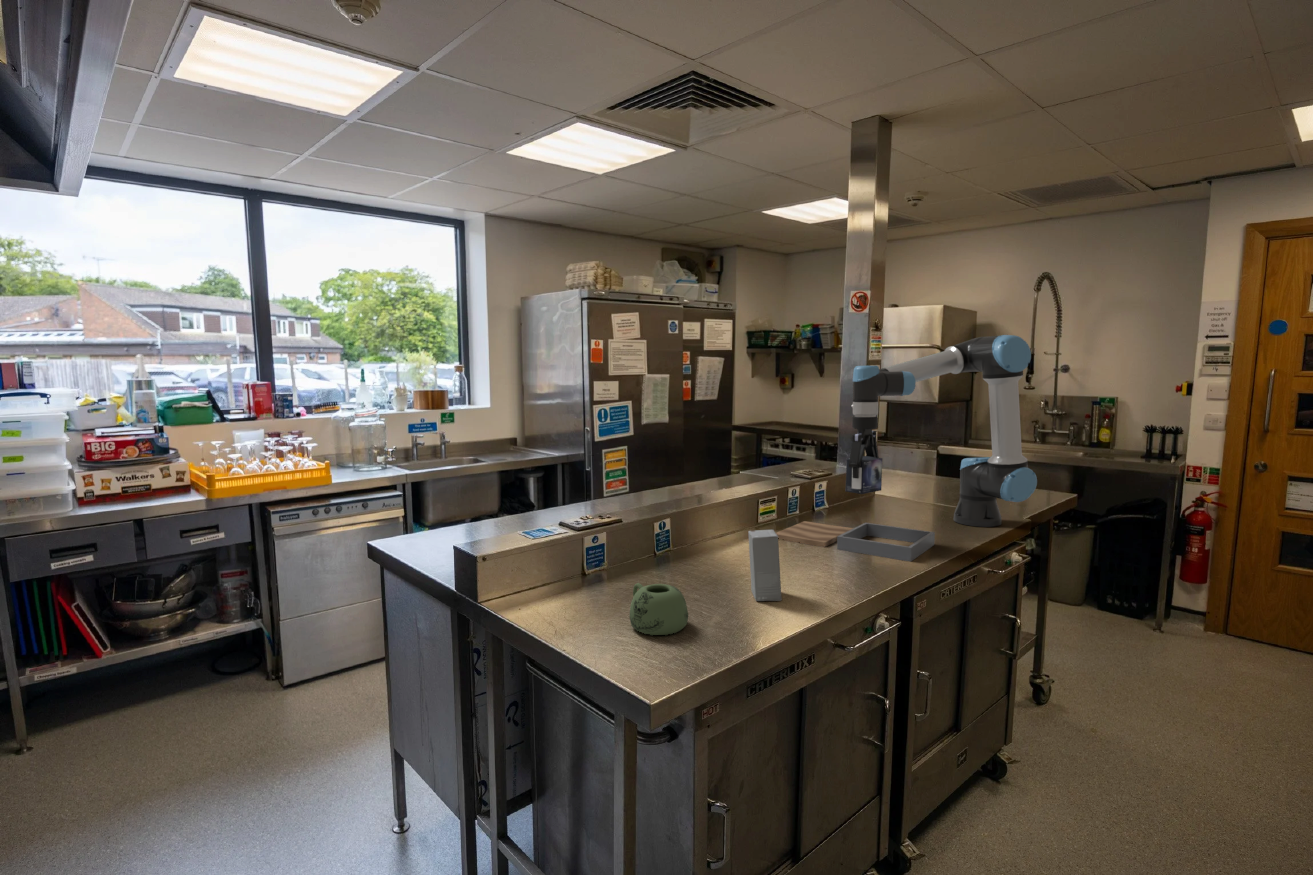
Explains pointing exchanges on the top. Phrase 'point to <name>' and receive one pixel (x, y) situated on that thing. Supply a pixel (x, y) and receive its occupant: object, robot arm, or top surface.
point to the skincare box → (764, 565)
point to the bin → (856, 544)
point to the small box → (866, 475)
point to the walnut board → (812, 533)
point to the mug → (658, 609)
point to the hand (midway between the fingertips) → (863, 485)
